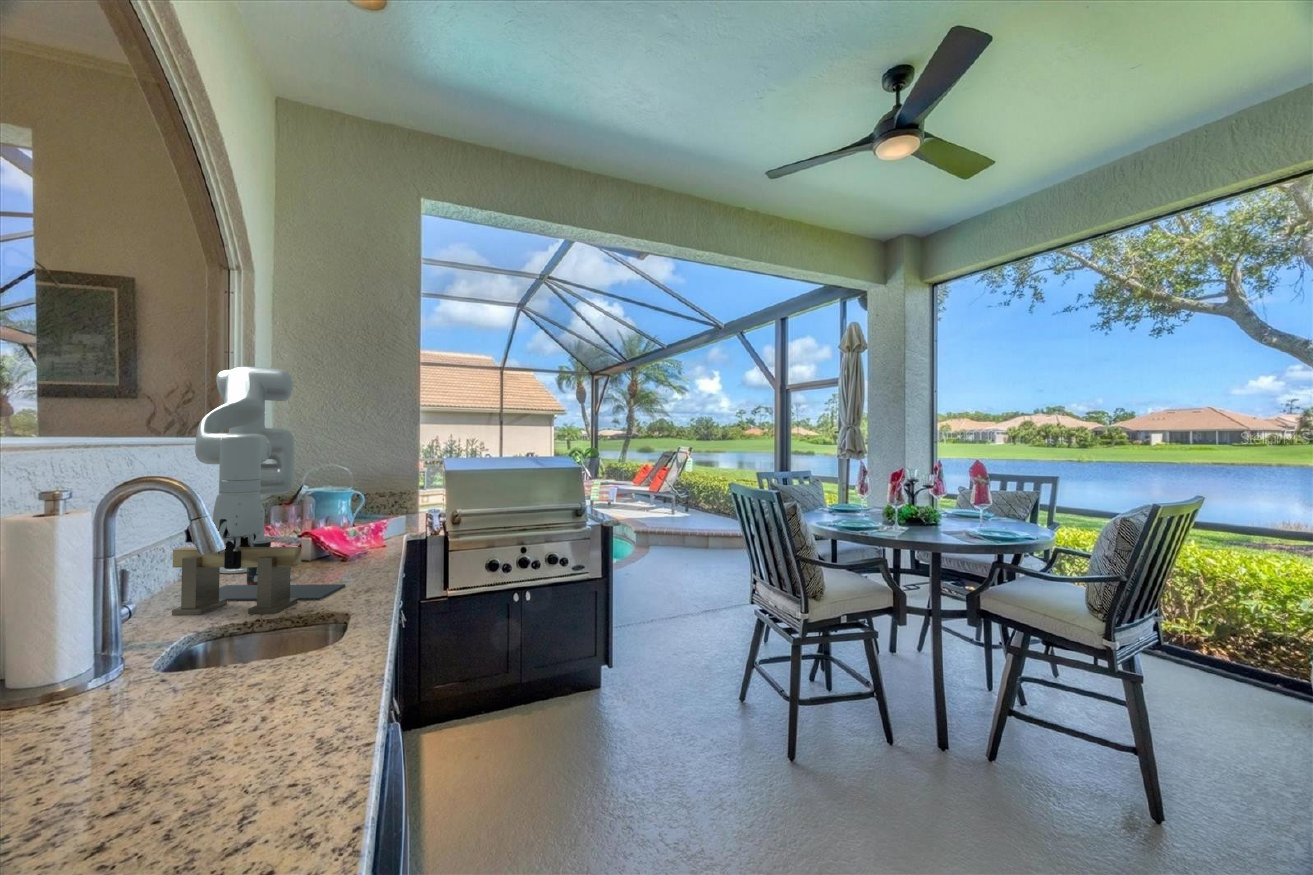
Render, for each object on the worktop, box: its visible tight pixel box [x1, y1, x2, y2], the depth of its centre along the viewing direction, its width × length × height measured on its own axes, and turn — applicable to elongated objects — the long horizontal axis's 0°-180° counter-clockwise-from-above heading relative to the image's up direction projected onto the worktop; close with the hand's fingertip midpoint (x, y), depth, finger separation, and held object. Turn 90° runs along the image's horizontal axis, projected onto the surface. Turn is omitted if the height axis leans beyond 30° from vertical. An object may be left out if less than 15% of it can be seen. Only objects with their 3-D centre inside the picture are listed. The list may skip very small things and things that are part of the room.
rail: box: [172, 546, 302, 568], centre depth 120 cm, size 3×26×4 cm, turn 95°
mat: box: [219, 583, 346, 602], centre depth 132 cm, size 12×30×1 cm, turn 95°
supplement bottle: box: [246, 540, 272, 585], centre depth 141 cm, size 6×6×11 cm
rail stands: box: [171, 557, 299, 616], centre depth 120 cm, size 8×22×12 cm, turn 95°
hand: (238, 565), depth 120 cm, fingers closed on rail, 2 cm apart
